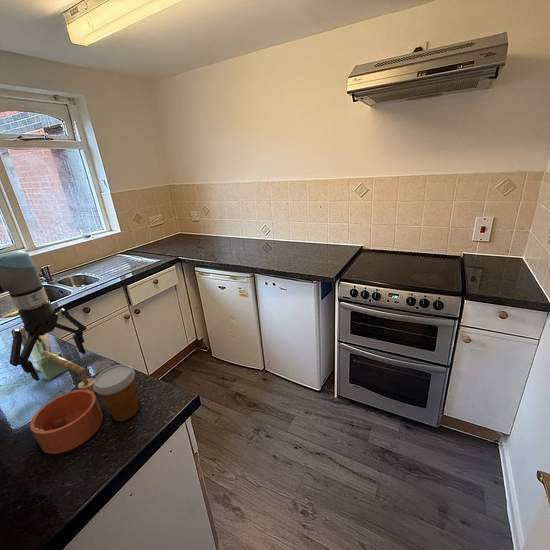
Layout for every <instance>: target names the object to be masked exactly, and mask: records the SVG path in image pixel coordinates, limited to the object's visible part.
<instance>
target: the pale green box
mask: <svg viewBox="0 0 550 550" xmlns="http://www.w3.org/2000/svg"><path fill="white" fill-rule="evenodd" d="M52 353H53V354H55V355H58V356H60V357H62V358H64V357H63V354H62V352H59V351H56V350H55V351H54V352H52ZM36 363H37V365H38V367H39V369H40V370H39V371H40V374H41V376H42V378H43V379H44V380H46V381H47V382H48V381H50V380H52V379H55V377H56V378H57V376H59V375H61V374H63V373H64V372H66V371H67V370H68V369H67V368H65V367H63V366H61V365H59V364H57V363H55V362H53V361H51V360H49V359H47V358H43V359H41V360H39V361H37V362H36Z"/></svg>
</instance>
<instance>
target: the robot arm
mask: <svg viewBox="0 0 550 550" xmlns="http://www.w3.org/2000/svg"><path fill="white" fill-rule="evenodd" d="M6 292H8V293H9V296H10V298H11V300H12V302H13V304H14V307H15V309H16V310H17V312H18V315H19V317H20V319H21V322H22V323H23V326H24V328H21V327H20V328H21V329H19V328H18V329H16V328H14V329H12V330H11V335H12V344H11V349H10V358H9V365H11V366H13V367H18V366H21V368H22V370H23V372H24V373H26V374H30V376H31V378H32V379H33V380H34V381H36V382H39V381H40V380H41V378H40V377H39V374H38V372H37V370H36V368H35V365H34V363H32V362H33V361H31V360H29V359H30V357H31V356H30V354H31V352H32V349H33V347H34V345H35V342H36V341H37V340H38V338H39V336H43V335H45V334H46V333H47V334H48V333H51V332H54V330H55V329H60V330H62V331H65V332H68V333H71V334H73V335H72V338H73V341H74V343H75V345H76V348H77V351H78V353H80V354H83V355H85V354H86V353H87V352H86V349H85V347H84V343H85V339H84V331H86V330H87V329H88V327H87V326H85V325H84V324H83V323H81V322H80V321H79V320H77V319H76V318H74V317H73V316H72V315H70V313H69V311H68V310H67V309H64V308H60V309H59V310H58V311H57V312H55V310H54V307H53V306H52V303H51V301H50V300H49V296H48V294H47V292H46V290H45V287H44V285H43V282H42V279H41V277H40V275H39V273H38V271H37V268H36V265H35V264H34V261H33V260H32V258H31V256H30V254H29V253H28V251H24V250H18V251H17V250H16V251H10V252H5V253H3V254H0V294H4V293H6ZM59 318H62V319H64V320H66V321H68V322H69V323H71V324H72V326H75V327H76V329H75V328H72V327H69V326H66V325H64V324H61V323H58V320H59ZM26 331H27V332H29V334H28V337H27V341H26V343H25V346H24V347H23V348H22V346H23V345H22V336H24V332H26Z"/></svg>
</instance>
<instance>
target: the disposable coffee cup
mask: <svg viewBox="0 0 550 550" xmlns="http://www.w3.org/2000/svg"><path fill="white" fill-rule="evenodd" d="M135 374H136V372H135V370H134V368H132V367H131V366H130V365H128V364H116V365H112V366H110V367H107V368H106V369H103V370H102V371H101V372H99V374H98V375H96V377H95V378H94V379H95V380H94V386H93V389H94V391H95V393H96V394H98V395H99V397H100V399H101V401H102V402H103V404H104V405H105V407H106V409H107V411H108V412H109V414H110V415H111V417H112V418H113V420H114V421H116V422H124V421H127V420H129V419H131V418H132V417H133V416H135V415H136V414H137V413H138V411H139V407H140V406H139V401H138V395H137V389H136V387H137V386H136V382H135V381H136V380H135Z"/></svg>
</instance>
